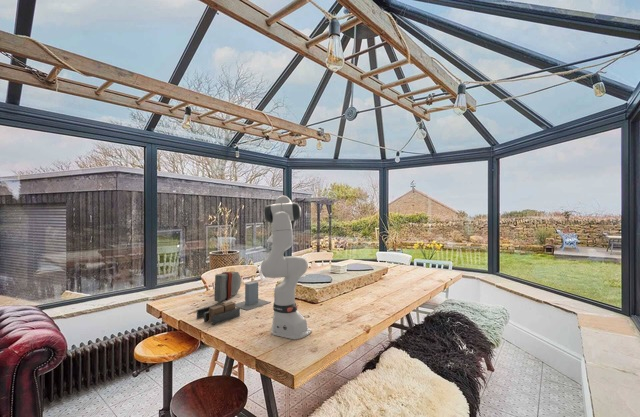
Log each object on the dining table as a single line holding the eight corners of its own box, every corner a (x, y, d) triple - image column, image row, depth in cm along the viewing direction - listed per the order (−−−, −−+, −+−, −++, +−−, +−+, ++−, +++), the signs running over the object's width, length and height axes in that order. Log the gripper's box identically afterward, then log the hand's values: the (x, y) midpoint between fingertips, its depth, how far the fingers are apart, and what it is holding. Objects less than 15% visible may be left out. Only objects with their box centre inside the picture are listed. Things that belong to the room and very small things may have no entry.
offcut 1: (223, 319, 171) (223, 306, 171) (212, 323, 166) (212, 309, 166) (219, 318, 174) (219, 304, 174) (208, 321, 168) (209, 307, 168)
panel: (258, 302, 202) (258, 282, 202) (248, 305, 195) (248, 284, 195) (254, 301, 204) (254, 281, 204) (245, 304, 198) (245, 283, 198)
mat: (270, 302, 203) (270, 302, 203) (247, 310, 187) (247, 309, 187) (255, 298, 212) (255, 297, 212) (232, 305, 197) (232, 304, 197)
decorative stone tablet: (222, 274, 200) (242, 269, 229) (213, 274, 201) (234, 269, 230) (221, 303, 198) (241, 294, 227) (212, 302, 199) (233, 294, 229)
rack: (239, 316, 177) (239, 307, 177) (213, 325, 163) (213, 316, 163) (223, 310, 188) (223, 302, 188) (196, 318, 173) (196, 309, 173)
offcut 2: (235, 315, 177) (235, 302, 177) (225, 319, 172) (225, 305, 172) (231, 314, 180) (231, 301, 180) (221, 317, 174) (221, 304, 174)
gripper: (270, 231, 219) (260, 245, 211) (290, 232, 206) (280, 247, 198) (274, 237, 222) (265, 251, 214) (294, 238, 210) (285, 253, 202)
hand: (272, 249), depth 206 cm, fingers open, 8 cm apart
